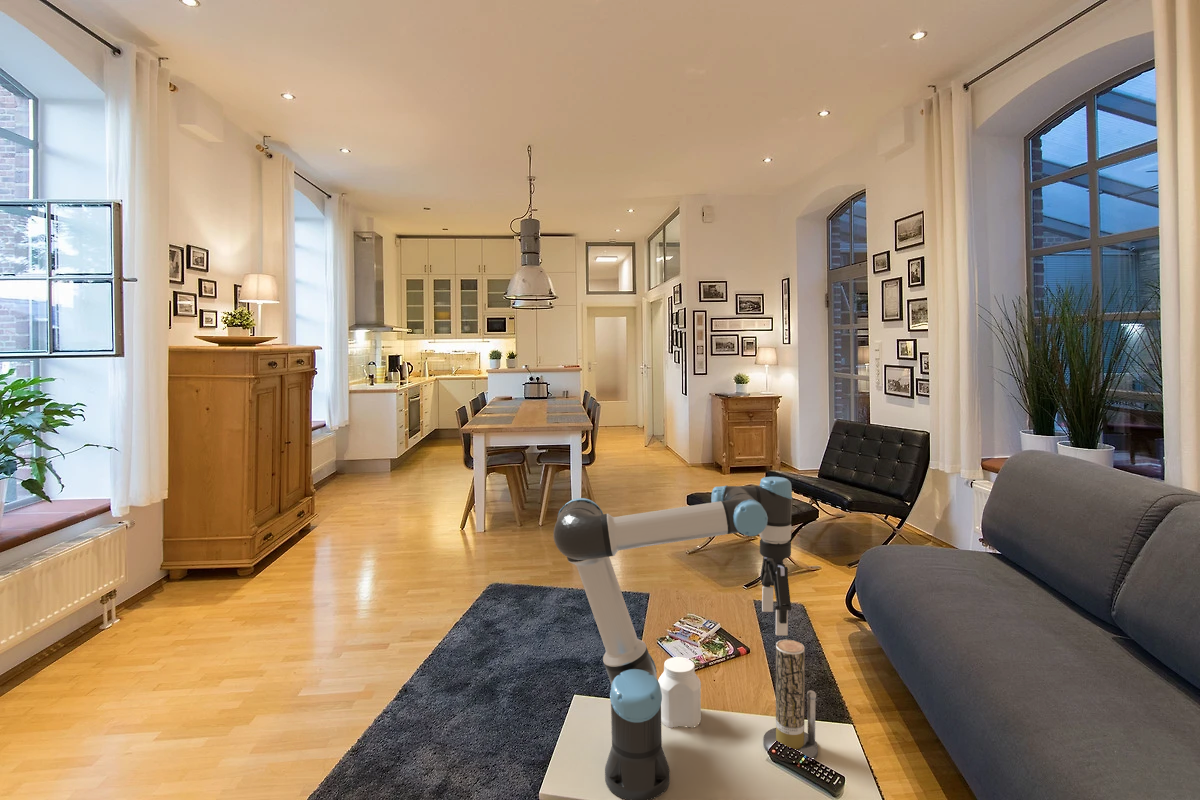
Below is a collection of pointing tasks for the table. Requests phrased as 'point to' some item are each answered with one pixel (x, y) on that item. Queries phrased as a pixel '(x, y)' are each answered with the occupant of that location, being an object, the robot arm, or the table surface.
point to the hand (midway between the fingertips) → (774, 622)
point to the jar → (680, 693)
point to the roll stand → (809, 739)
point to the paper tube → (790, 693)
